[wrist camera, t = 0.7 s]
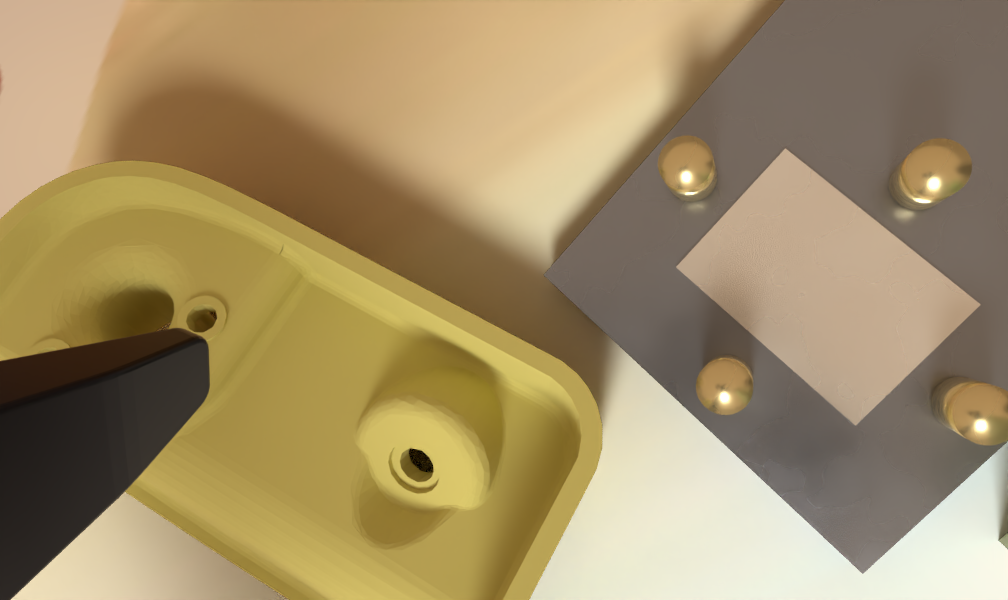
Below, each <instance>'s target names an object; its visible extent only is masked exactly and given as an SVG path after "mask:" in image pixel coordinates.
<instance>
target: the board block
mask: <svg viewBox="0 0 1008 600" xmlns="http://www.w3.org/2000/svg"><path fill="white" fill-rule="evenodd" d="M999 541H1000V542H1001V543H1002V544H1003V545H1004V546H1005V547H1006V548H1007V549H1008V533H1007V534H1006V535H1004V536H1003V537H1002V538H1001V539H1000V540H999Z"/></svg>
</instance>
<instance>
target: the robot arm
mask: <svg viewBox="0 0 1008 600" xmlns="http://www.w3.org/2000/svg"><path fill="white" fill-rule="evenodd" d="M209 389H210V367H209V346H208V343H207V341H206V339H204V338H203V337H202V336H200V335H197V334H195V333H193V332H190V331H188V330H186V329H183V328H171V329H166V330H161V331H155V332H150V333H145V334H139V335H134V336H129V337H124V338H118V339H113V340H108V341H103V342H97V343H92V344H87V345H81V346H76V347H71V348H66V349H60V350H55V351H50V352H44V353H39V354H34V355H29V356H23V357H18V358H13V359H7V360H2V361H0V600H11V599H12V598H13V597H14V596H15V595H16V594H17V593H18V592H19V591H20V590H21V589H22V588H23V587H24V586H26V585H27V584H28V583H29V582H30V581H31V580H32V579H33V578H34V577H35V576H36V575H37V574H38V573H39V572H40V571H41V570H42V569H44V568H45V567H46V566H47V565H48V564H49V563H50V562H51V561H52V560H53V559H54V558H55V557H56V556H57V555H58V554H59V553H61V552H62V551H63V550H64V549H65V548H66V547H67V546H68V545H69V544H70V543H71V542H72V541H73V540H74V539H75V538H76V537H78V536H79V535H80V534H81V533H82V532H83V531H84V530H85V529H86V528H87V527H88V526H89V525H90V524H91V523H92V522H93V521H94V520H96V519H97V518H98V517H99V516H100V515H101V514H102V513H103V512H104V511H105V510H106V509H107V508H108V507H109V506H110V505H111V504H113V503H114V502H115V501H116V500H117V499H118V498H119V497H120V496H121V495H122V494H123V493H124V492H125V491H126V490H127V489H128V488H129V487H130V486H131V485H132V484H133V483H134V481H135V480H136V479H137V478H138V477H139V476H140V475H141V474H142V473H143V472H144V471H145V469H146V468H147V467H148V466H149V465H150V464H151V463H152V461H153V460H154V459H155V458H156V457H157V456H158V455H159V453H160V452H161V451H162V450H163V449H164V448H165V446H166V445H167V444H168V443H169V442H170V441H171V440H172V438H173V437H174V436H175V435H176V434H177V433H178V432H179V430H180V429H181V428H182V427H183V426H184V425H185V424H186V422H187V421H188V420H189V419H190V418H191V417H192V416H193V414H194V413H195V412H196V411H197V410H198V409H199V408H200V406H201V405H202V404H203V402H204V401H205V399H206V398H207V395H208V393H209Z"/></svg>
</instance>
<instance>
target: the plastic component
mask: <svg viewBox="0 0 1008 600" xmlns="http://www.w3.org/2000/svg"><path fill="white" fill-rule="evenodd" d="M209 312H215V313H216V314H217V320H216V319H215V318H214V317H213V316H212V315H211V314H210V313H209ZM171 321H172V322H171ZM169 322H171V324H170V326H169V328H168V329H171V328H183V329H186V330H188V331H190V332H193V333H195V334H197V335H200V336H202V337H203V338H204V339H206V341H207V343H208V346H209V367H210V389H209V393H208V395H207V398H206V399H205V401H204V402H203V404H202V405H201V406H200V408H199V409H198V410H197V411H196V412H195V413H194V414H193V416H192V417H191V418H190V419H189V420H188V421H187V422H186V424H185V425H184V426H183V427H182V428H181V429H180V430H179V432H178V433H177V434H176V435H175V436H174V437H173V438H172V440H171V441H170V442H169V443H168V444H167V445H166V446H165V448H164V449H163V450H162V451H161V452H160V453H159V455H158V456H157V457H156V458H155V459H154V460H153V461H152V463H151V464H150V465H149V466H148V467H147V468H146V469H145V471H144V472H143V473H142V474H141V475H140V476H139V477H138V478H137V479H136V480H135V481H134V483H133V484H132V485H131V486H130V487H129V488H128V489H127V490H126V491H125V492H126V493H128V494H129V495H131V496H132V497H134V498H135V499H137V500H138V501H140V502H141V503H142V504H144V505H145V506H147V507H148V508H150V509H151V510H153V511H154V512H156V513H157V514H159V515H160V516H162V517H163V518H165V519H166V520H168V521H169V522H171V523H172V524H174V525H175V526H177V527H178V528H180V529H182V530H183V531H185V532H186V533H188V534H189V535H191V536H192V537H194V538H195V539H197V540H198V541H200V542H201V543H203V544H204V545H206V546H207V547H209V548H210V549H212V550H213V551H215V552H216V553H218V554H219V555H221V556H222V557H224V558H226V559H227V560H229V561H230V562H232V563H233V564H235V565H236V566H238V567H239V568H241V569H242V570H244V571H245V572H247V573H249V574H250V575H252V576H253V577H255V578H256V579H258V580H259V581H261V582H262V583H264V584H266V585H267V586H269V587H270V588H272V589H273V590H275V591H276V592H278V593H279V594H281V595H282V596H284V597H286V598H287V599H289V600H529V599H530V597H531V595H532V593H533V591H534V589H535V587H536V586H537V584H538V582H539V580H540V578H541V576H542V574H543V572H544V570H545V568H546V566H547V564H548V562H549V560H550V558H551V557H552V555H553V553H554V551H555V549H556V547H557V545H558V543H559V541H560V539H561V537H562V535H563V533H564V531H565V530H566V528H567V526H568V524H569V522H570V520H571V518H572V516H573V514H574V512H575V510H576V508H577V506H578V504H579V502H580V501H581V499H582V497H583V495H584V493H585V491H586V489H587V487H588V485H589V483H590V481H591V479H592V477H593V475H594V473H595V471H596V469H597V465H598V461H599V458H600V454H601V450H602V422H601V418H600V414H599V410H598V406H597V403H596V401H595V399H594V397H593V396H592V394H591V392H590V390H589V388H588V386H587V385H586V384H585V382H584V381H583V380H582V379H581V378H580V376H579V375H578V374H577V373H576V372H575V371H574V370H572V369H571V368H570V367H569V366H567V365H566V364H565V363H564V362H563V361H561V360H559V359H557V358H556V357H554V356H552V355H550V354H548V353H546V352H544V351H542V350H540V349H538V348H537V347H535V346H533V345H531V344H529V343H527V342H525V341H523V340H521V339H519V338H518V337H516V336H514V335H512V334H510V333H508V332H506V331H504V330H502V329H500V328H499V327H497V326H495V325H493V324H491V323H489V322H487V321H485V320H483V319H482V318H480V317H478V316H476V315H474V314H472V313H470V312H468V311H466V310H464V309H463V308H461V307H459V306H457V305H455V304H453V303H451V302H449V301H447V300H445V299H444V298H442V297H440V296H438V295H436V294H434V293H432V292H430V291H428V290H426V289H425V288H423V287H421V286H419V285H417V284H415V283H413V282H411V281H409V280H407V279H406V278H404V277H402V276H400V275H398V274H396V273H394V272H392V271H390V270H388V269H387V268H385V267H383V266H381V265H379V264H377V263H375V262H373V261H371V260H369V259H368V258H366V257H364V256H362V255H360V254H358V253H356V252H354V251H352V250H350V249H349V248H347V247H345V246H343V245H341V244H339V243H337V242H335V241H333V240H331V239H330V238H328V237H326V236H324V235H322V234H320V233H318V232H316V231H314V230H312V229H311V228H309V227H307V226H305V225H303V224H301V223H299V222H297V221H295V220H293V219H292V218H290V217H288V216H286V215H284V214H282V213H280V212H278V211H276V210H275V209H273V208H271V207H269V206H267V205H265V204H263V203H261V202H259V201H257V200H255V199H253V198H250V197H248V196H246V195H244V194H242V193H240V192H238V191H236V190H234V189H232V188H230V187H228V186H226V185H224V184H221V183H219V182H217V181H214V180H212V179H210V178H207V177H205V176H202V175H200V174H197V173H194V172H191V171H188V170H185V169H182V168H179V167H175V166H171V165H166V164H161V163H157V162H147V161H115V162H108V163H102V164H96V165H93V166H89V167H86V168H82V169H79V170H76V171H73V172H71V173H68V174H66V175H63V176H61V177H59V178H57V179H55V180H53V181H51V182H49V183H47V184H45V185H44V186H41V187H40V188H38V189H37V190H35V191H34V192H32V193H31V194H30V195H28V196H27V197H25V198H24V199H22V200H21V201H20V202H19V203H18V204H17V205H15V206H14V207H13V208H12V209H11V210H10V211H9V212H8V213H7V214H5V215H4V216H3V217H2V218H1V219H0V361H2V360H7V359H13V358H18V357H23V356H29V355H34V354H39V353H44V352H50V351H55V350H60V349H66V348H71V347H76V346H81V345H87V344H92V343H97V342H103V341H108V340H113V339H118V338H124V337H129V336H134V335H139V334H145V333H150V332H155V331H157V330H158V329H159V328H161V327H162V326H164V325H166V324H167V323H169ZM410 448H412V449H417V450H422V451H423V452H424V453H425V454H426V455H427V456H428V457H429V458H430V460H431V462H432V464H433V471H434V472H431V473H428V472H424V471H420V470H419V469H418V468H417V467H416V466H415V465H414V464H413V463H412V461H411V459H410V456H409V449H410Z"/></svg>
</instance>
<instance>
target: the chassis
mask: <svg viewBox="0 0 1008 600" xmlns="http://www.w3.org/2000/svg"><path fill="white" fill-rule="evenodd" d="M544 276H545V277H546V278H547V279H548V280H549V281H550V282H551V283H552V284H554V285H555V286H556V287H557V288H558V289H559V290H560V291H561V292H562V293H563V294H564V295H565V296H566V297H567V298H569V299H570V300H571V301H572V302H573V303H574V304H575V305H576V306H577V307H578V308H579V309H580V310H581V311H582V312H583V313H585V314H586V315H587V316H588V317H589V318H590V319H591V320H592V321H593V322H594V323H595V324H596V325H597V326H598V327H600V328H601V329H602V330H603V331H604V332H605V333H606V334H607V335H608V336H609V337H610V338H611V339H612V340H613V341H614V342H616V343H617V344H618V345H619V346H620V347H621V348H622V349H623V350H624V351H625V352H626V353H627V354H628V355H629V356H631V357H632V358H633V359H634V360H635V361H636V362H637V363H638V364H639V365H640V366H641V367H642V368H643V369H644V370H645V371H647V372H648V373H649V374H650V375H651V376H652V377H653V378H654V379H655V380H656V381H657V382H658V383H659V384H660V385H662V386H663V387H664V388H665V389H666V390H667V391H668V392H669V393H670V394H671V395H672V396H673V397H674V398H675V399H676V400H678V401H679V402H680V403H681V404H682V405H683V406H684V407H685V408H686V409H687V410H688V411H689V412H690V413H691V414H693V415H694V416H695V417H696V418H697V419H698V420H699V421H700V422H701V423H702V424H703V425H704V426H705V427H706V428H707V429H709V430H710V431H711V432H712V433H713V434H714V435H715V436H716V437H717V438H718V439H719V440H720V441H721V442H722V443H724V444H725V445H726V446H727V447H728V448H729V449H730V450H731V451H732V452H733V453H734V454H735V455H736V456H737V457H739V458H740V459H741V460H742V461H743V462H744V463H745V464H746V465H747V466H748V467H749V468H750V469H751V470H752V471H753V472H755V473H756V474H757V475H758V476H759V477H760V478H761V479H762V480H763V481H764V482H765V483H766V484H767V485H768V486H770V487H771V488H772V489H773V490H774V491H775V492H776V493H777V494H778V495H779V496H780V497H781V498H782V499H783V500H784V501H786V502H787V503H788V504H789V505H790V506H791V507H792V508H793V509H794V510H795V511H796V512H797V513H798V514H799V515H801V516H802V517H803V518H804V519H805V520H806V521H807V522H808V523H809V524H810V525H811V526H812V527H813V528H814V529H815V530H817V531H818V532H819V533H820V534H821V535H822V536H823V537H824V538H825V539H826V540H827V541H828V542H829V543H830V544H832V545H833V546H834V547H835V548H836V549H837V550H838V551H839V552H840V553H841V554H842V555H843V556H844V557H845V558H846V559H848V560H849V561H850V562H851V563H852V564H853V565H854V566H855V567H856V568H857V569H858V570H859V571H860V572H861V573H864V572H865V571H866V570H867V569H869V568H870V567H871V566H872V565H873V564H874V563H875V562H876V561H877V560H878V559H879V558H881V557H882V556H883V555H884V554H885V553H886V552H887V551H888V550H889V549H890V548H892V547H893V546H894V545H895V544H896V543H897V542H898V541H899V540H900V539H901V538H902V537H904V536H905V535H906V534H907V533H908V532H909V531H910V530H911V529H912V528H913V527H914V526H916V525H917V524H918V523H919V522H920V521H921V520H922V519H923V518H924V517H925V516H926V515H928V514H929V513H930V512H931V511H932V510H933V509H934V508H935V507H936V506H937V505H939V504H940V503H941V502H942V501H943V500H944V499H945V498H946V497H947V496H948V495H949V494H951V493H952V492H953V491H954V490H955V489H956V488H957V487H958V486H959V485H960V484H961V483H963V482H964V481H965V480H966V479H967V478H968V477H969V476H970V475H971V474H972V473H974V472H975V471H976V470H977V469H978V468H979V467H980V466H981V465H982V464H983V463H984V462H986V461H987V460H988V459H989V458H990V457H991V456H992V455H993V454H994V453H995V452H996V451H998V450H999V449H1000V448H1001V447H1002V446H1003V445H1004V444H1005V443H1006V442H1007V441H1008V0H785V1H784V2H783V3H782V4H781V6H780V7H779V8H778V9H777V10H776V11H775V12H774V13H773V15H772V16H771V17H770V18H769V19H768V20H767V21H766V23H765V24H764V25H763V26H762V27H761V28H760V29H759V31H758V32H757V33H756V34H755V35H754V36H753V37H752V38H751V40H750V41H749V42H748V43H747V44H746V45H745V46H744V48H743V49H742V50H741V51H740V52H739V53H738V54H737V56H736V57H735V58H734V59H733V60H732V61H731V62H730V63H729V65H728V66H727V67H726V68H725V69H724V70H723V71H722V73H721V74H720V75H719V76H718V77H717V78H716V79H715V81H714V82H713V83H712V84H711V85H710V86H709V87H708V89H707V90H706V91H705V92H704V93H703V94H702V95H701V96H700V98H699V99H698V100H697V101H696V102H695V103H694V104H693V106H692V107H691V108H690V109H689V110H688V111H687V112H686V114H685V115H684V116H683V117H682V118H681V119H680V120H679V121H678V123H677V124H676V125H675V126H674V127H673V128H672V129H671V131H670V132H669V133H668V134H667V135H666V136H665V137H664V139H663V140H662V141H661V142H660V143H659V144H658V145H657V146H656V148H655V149H654V150H653V151H652V152H651V153H650V154H649V156H648V157H647V158H646V159H645V160H644V161H643V162H642V164H641V165H640V166H639V167H638V168H637V169H636V170H635V171H634V173H633V174H632V175H631V176H630V177H629V178H628V179H627V181H626V182H625V183H624V184H623V185H622V186H621V187H620V189H619V190H618V191H617V192H616V193H615V194H614V195H613V197H612V198H611V199H610V200H609V201H608V202H607V203H606V204H605V206H604V207H603V208H602V209H601V210H600V211H599V212H598V214H597V215H596V216H595V217H594V218H593V219H592V220H591V222H590V223H589V224H588V225H587V226H586V227H585V228H584V229H583V231H582V232H581V233H580V234H579V235H578V236H577V237H576V239H575V240H574V241H573V242H572V243H571V244H570V245H569V247H568V248H567V249H566V250H565V251H564V252H563V253H562V254H561V256H560V257H559V258H558V259H557V260H556V261H555V262H554V264H553V265H552V266H551V267H550V268H549V269H548V270H547V272H546V273H545V274H544Z"/></svg>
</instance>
